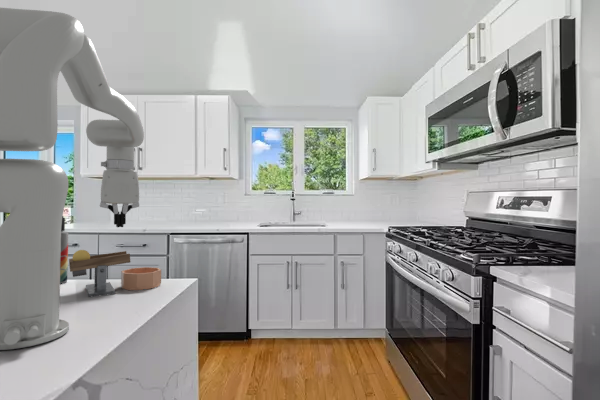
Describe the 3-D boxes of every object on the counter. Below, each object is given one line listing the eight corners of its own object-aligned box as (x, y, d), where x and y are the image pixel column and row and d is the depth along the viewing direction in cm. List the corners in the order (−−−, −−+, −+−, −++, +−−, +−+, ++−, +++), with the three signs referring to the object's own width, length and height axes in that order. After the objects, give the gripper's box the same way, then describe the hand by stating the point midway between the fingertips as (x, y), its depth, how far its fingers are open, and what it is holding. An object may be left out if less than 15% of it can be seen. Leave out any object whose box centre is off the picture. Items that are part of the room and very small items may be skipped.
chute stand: (115, 293, 92) (115, 265, 93) (88, 297, 89) (89, 267, 89) (109, 285, 102) (110, 259, 102) (85, 287, 99) (86, 261, 99)
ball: (91, 264, 93) (89, 249, 93) (73, 267, 91) (71, 252, 90) (90, 262, 96) (88, 247, 96) (73, 265, 94) (71, 250, 94)
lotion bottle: (67, 283, 103) (68, 216, 104) (43, 286, 100) (45, 216, 100) (67, 280, 108) (68, 215, 108) (44, 282, 105) (45, 215, 105)
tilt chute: (130, 268, 97) (129, 253, 97) (70, 277, 89) (69, 262, 89) (122, 260, 109) (121, 248, 109) (69, 268, 101) (68, 255, 101)
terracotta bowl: (164, 287, 100) (164, 271, 100) (124, 292, 94) (124, 275, 95) (156, 280, 109) (156, 266, 109) (118, 284, 103) (119, 269, 103)
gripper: (93, 164, 99) (92, 228, 99) (149, 167, 108) (148, 227, 108) (91, 166, 105) (90, 226, 105) (144, 168, 114) (143, 225, 114)
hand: (119, 226), depth 107 cm, fingers closed
